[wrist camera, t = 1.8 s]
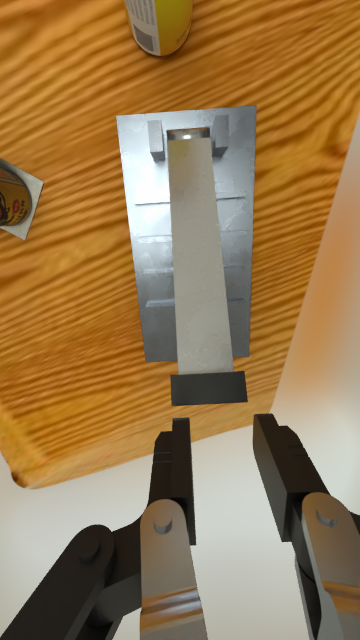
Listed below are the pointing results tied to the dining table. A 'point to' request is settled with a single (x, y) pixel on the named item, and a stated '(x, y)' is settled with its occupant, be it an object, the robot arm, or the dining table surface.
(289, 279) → the dining table surface
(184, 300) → the bar
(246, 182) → the clamp base
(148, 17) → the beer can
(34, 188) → the condiment
